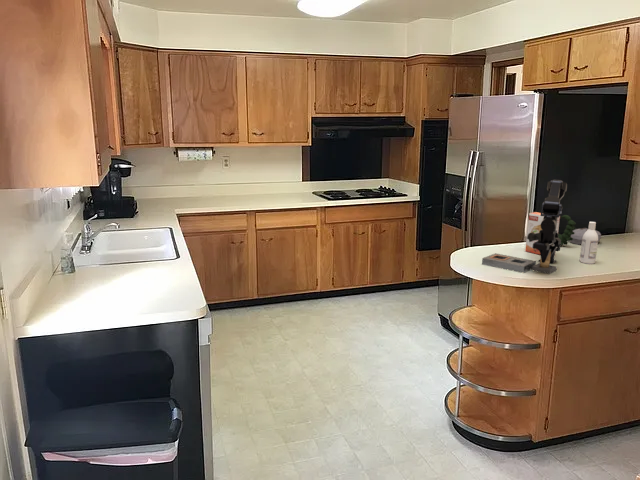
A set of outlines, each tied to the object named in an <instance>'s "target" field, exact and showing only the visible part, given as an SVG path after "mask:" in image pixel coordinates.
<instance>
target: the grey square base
mask: <svg viewBox="0 0 640 480" xmlns="http://www.w3.org/2000/svg"><path fill="white" fill-rule="evenodd" d="M532 270H534V272H537V271H538V272H539V273H542V272H543V274H548V275H550V274H552V273H554V272H556V271H557V266H556V265H552V264H551V265H550V264H549V267H548V268H545V267H541V266H540V262H539V263H536V265H534V266H532V269H531V271H532ZM538 272H537V273H538Z"/></svg>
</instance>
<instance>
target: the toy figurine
mask: <svg viewBox="0 0 640 480" xmlns="http://www.w3.org/2000/svg"><path fill="white" fill-rule="evenodd" d="M560 219H565V221H566V222H567V225H565V229H564V230H563V233H562V234H561V233H558V238H560V240H561V244H560V246H563V245H565V246H567V245H568V244H569V242H570V240H571V241H572V240H573V238H572V237H571V235H572V234H574V232H573V230H575V229H576V226H575V225H576V224H577V223H576V222H575V221H574V220H573V219H572V218H571V216H570V215H567V214H564V215H561V216H560Z"/></svg>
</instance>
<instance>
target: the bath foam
mask: <svg viewBox="0 0 640 480" xmlns="http://www.w3.org/2000/svg"><path fill="white" fill-rule="evenodd" d="M596 224H597V222H596V221H589V223H588V228H587V229H588V230H587V231H586V232H585V233H584V235H583V238H582V245H581V246H580V252H579V253H580V254H579V262H580V263H583V264H589V265H592V264H595V263H596V259H597V253H598V252H597V251H598V245H599V241H598V235H597V233H596V231H597V230H596V226H597V225H596ZM595 230H596V231H595Z"/></svg>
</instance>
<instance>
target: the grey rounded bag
mask: <svg viewBox="0 0 640 480" xmlns="http://www.w3.org/2000/svg"><path fill="white" fill-rule="evenodd" d="M587 230H588V228H586V227H583V228H575V229H573V230H572V231H573V232H574V234H572V235H571V237H572V238H573V240H572V241H571V240H570V241H569V243H572V244H576V245H580V244H581V245H582V238H583V235H584V233H585V232H586V231H587ZM595 231H596V233H597V235H598V242H600V241H601V239H602V234H601V232H600V231H598V230H596V229H595Z"/></svg>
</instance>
